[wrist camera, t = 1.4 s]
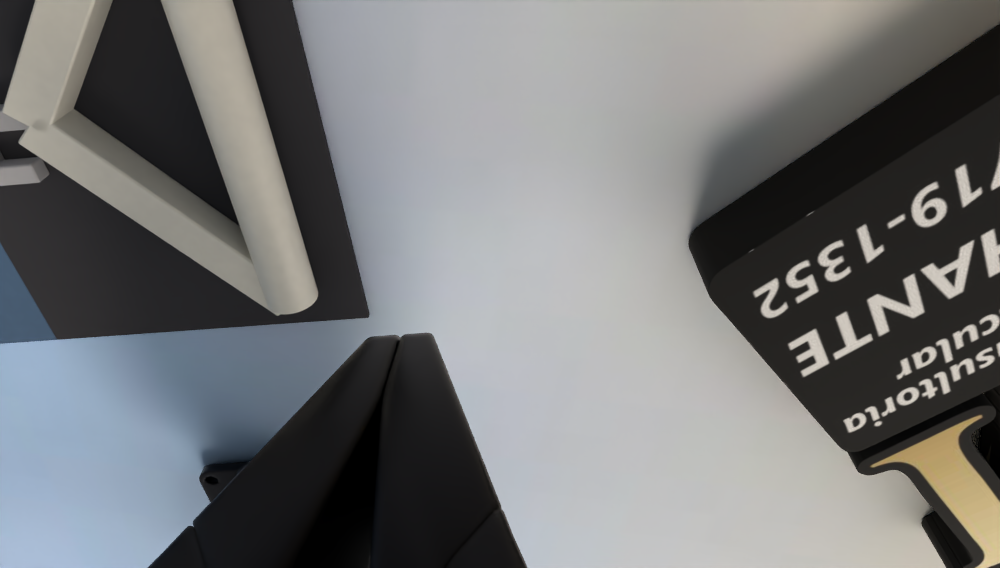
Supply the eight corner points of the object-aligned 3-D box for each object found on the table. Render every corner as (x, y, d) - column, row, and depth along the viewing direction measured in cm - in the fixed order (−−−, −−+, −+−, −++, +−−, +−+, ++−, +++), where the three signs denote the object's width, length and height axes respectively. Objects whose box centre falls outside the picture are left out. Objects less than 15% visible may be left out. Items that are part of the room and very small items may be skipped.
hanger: (326, 292, 23) (315, 321, 22) (69, 310, 23) (43, 340, 22) (181, -214, 15) (150, -216, 14) (-199, -171, 16) (-264, -168, 14)
